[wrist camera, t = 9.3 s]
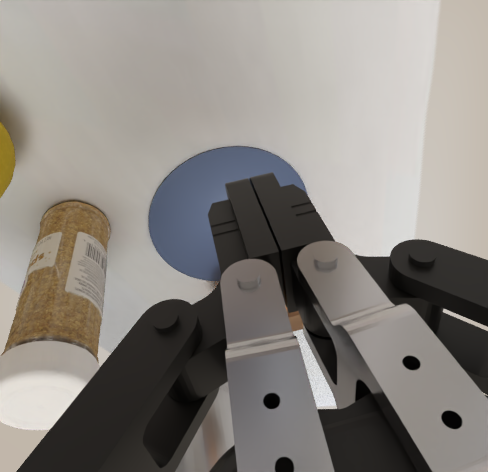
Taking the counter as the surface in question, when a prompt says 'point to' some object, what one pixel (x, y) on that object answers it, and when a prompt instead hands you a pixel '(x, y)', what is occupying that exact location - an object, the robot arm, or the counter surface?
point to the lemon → (6, 159)
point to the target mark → (204, 204)
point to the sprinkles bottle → (56, 319)
